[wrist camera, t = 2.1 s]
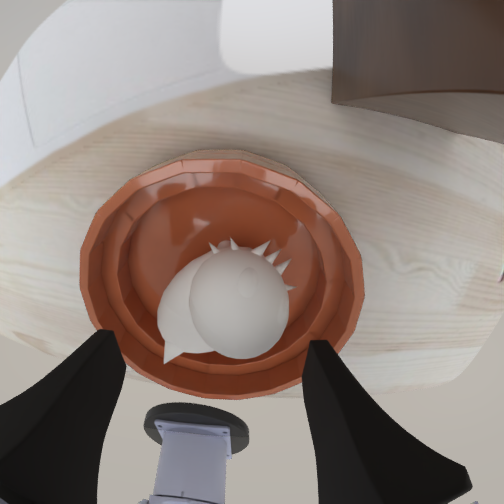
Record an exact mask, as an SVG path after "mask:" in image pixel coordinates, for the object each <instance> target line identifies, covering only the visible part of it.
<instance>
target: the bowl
mask: <svg viewBox="0 0 504 504" xmlns="http://www.w3.org/2000/svg"><path fill="white" fill-rule="evenodd" d="M230 238H231V239H232V240H233V241H234V242H235V243H236V244H237V245H238V246H239V247H249V248H251V249H254V248H256V247H258V246H260V245H262V244H264V243H266V242H268V241H270V240H271V241H270V243H269V244H268V246H267V248H266V249H265V251H264V253H263V255H264V256H265V257H266V256H268V255H270V254H272V253H274V252H276V251H278V250H280V249H281V250H280V252H279V254H278V255H277V257H276V259H275V260H274V262H273V263H272V265H273V266H274V267H275V266H277V265H279V264H281V263H283V262H285V261H287V260H289V259H291V258H292V259H291V260H290V262H289V264H288V265H287V267H286V268H285V270H284V272H283V273H282V275H281V277H282V279H283V282H284V284H286V285H291V286H295V287H296V288H294V289H291V290H288V291H287V292H288V297H289V317H288V322H287V325H286V327H285V329H284V332H283V334H282V336H281V338H280V339H279V341H278V342H277V343H276V344H275V345H274V346H273V347H272V348H271V349H270V350H268V351H267V352H265V353H263V354H261V355H259V356H257V357H253V358H249V359H235V358H231V357H226V356H224V355H222V354H220V353H218V352H216V351H212V352H205V353H187V352H183V353H181V354H180V355H178V356H177V357H175V358H173V359H172V360H170V361H168V362H167V363H165V364H164V349H165V340H164V339H163V338H162V335H161V333H160V331H159V328H158V325H157V310H158V306H159V304H160V301H161V298H162V295H163V292H164V291H165V289H166V288H167V286H168V285H169V284H170V282H171V281H172V279H173V278H174V277H175V275H176V274H177V273H178V272H179V271H181V270H182V269H183V268H184V267H185V266H186V265H187V264H189V263H190V262H191V261H192V260H194V259H196V258H198V257H200V256H202V255H204V254H206V253H208V252H209V251H211V250H212V249H211V247H210V244H209V243H211V244H212V245H213V246H215V247H216V248H217V246H218V245H219V243H220V242H222V241H225V240H229V241H231V240H230ZM80 290H81V294H82V297H83V300H84V303H85V306H86V309H87V312H88V315H89V318H90V321H91V322H92V324H93V325H94V327H95V328H96V330H97V331H98V330H99V329H106V330H113V331H114V333H115V336H116V339H117V342H118V345H119V348H120V350H121V353H122V356H123V358H124V361H125V363H126V364H128V365H129V366H130V367H131V368H132V369H134V370H135V371H136V372H137V373H139V374H141V375H143V376H144V377H146V378H148V379H150V380H152V381H154V382H156V383H158V384H160V385H162V386H164V387H166V388H168V389H171V390H175V391H178V392H182V393H185V394H189V395H193V396H197V397H201V398H209V399H228V400H241V399H248V398H254V397H260V396H266V395H271V394H275V393H277V392H280V391H282V390H285V389H287V388H290V387H292V386H295V385H297V384H299V383H302V373H303V369H304V365H305V360H306V356H307V352H308V348H309V343H310V340H328V341H329V343H330V344H331V346H332V347H333V348H334V350H335V351H336V353H337V354H338V353H339V352H340V350H341V349H342V348H343V346H344V345H345V344H346V342H347V341H348V340H349V338H350V337H351V335H352V334H353V332H354V330H355V327H356V324H357V321H358V318H359V315H360V311H361V308H362V304H363V301H364V296H365V292H364V279H363V268H362V258H361V254H360V252H359V250H358V248H357V246H356V245H355V243H354V241H353V239H352V237H351V235H350V233H349V231H348V229H347V227H346V225H345V224H344V222H343V220H342V218H341V216H340V215H339V214H338V213H337V211H336V210H335V209H334V208H333V207H332V206H331V205H330V204H329V202H328V201H327V200H326V199H325V198H324V197H323V196H322V195H321V194H320V193H319V192H318V191H317V190H316V189H315V188H314V187H312V186H311V185H310V184H309V183H308V182H306V181H305V180H304V179H303V178H302V177H300V176H299V175H298V174H297V173H296V172H294V171H293V170H292V169H291V168H289V167H288V166H286V165H284V164H281V163H279V162H276V161H273V160H271V159H268V158H265V157H262V156H259V155H257V154H254V153H251V152H248V151H245V150H244V151H243V150H195V151H192V152H190V153H187V154H184V155H181V156H178V157H176V158H173V159H170V160H168V161H165V162H162V163H160V164H157V165H155V166H153V167H152V168H150V169H148V170H146V171H144V172H142V173H141V174H139V175H137V176H135V177H134V178H132V179H130V180H129V181H128V182H127V183H126V184H125V185H124V186H122V187H121V188H120V189H119V190H118V191H117V192H116V193H115V194H114V195H113V196H112V197H111V198H110V199H109V200H108V201H107V202H106V203H105V204H104V205H103V206H102V207H101V208H100V209H99V210H98V211H97V212H96V214H95V216H94V219H93V221H92V223H91V225H90V228H89V230H88V232H87V235H86V237H85V239H84V242H83V244H82V247H81V250H80Z"/></svg>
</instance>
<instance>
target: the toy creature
mask: <svg viewBox="0 0 504 504" xmlns="http://www.w3.org/2000/svg"><path fill="white" fill-rule="evenodd" d="M230 240H231V241H229V240H225V241H222V242H220V243H219V245H218V246H217V248H216V247H215V246H213V245H212V244H211V243H209V244H210V247H211V249H212V250H211V251H209V252H208V253H206V254H204V255H202V256H200V257H198V258H196V259H194V260H192V261H191V262H190V263H189V264H187V265H186V266H185V267H184V268H183V269H182V270H181V271H179V272H178V273H177V274H176V275H175V277H174V278H173V279H172V281H171V282H170V284H169V285H168V286H167V288H166V289H165V291H164V292H163V295H162V298H161V301H160V304H159V306H158V310H157V325H158V328H159V331H160V333H161V335H162V338H163V339H164V340H165V349H164V364H165V363H167V362H168V361H170V360H172V359H173V358H175V357H177V356H178V355H180V354H181V353H183V352H187V353H205V352H212V351H216V352H218V353H220V354H222V355H224V356H226V357H231V358H235V359H249V358H253V357H257V356H259V355H261V354H263V353H265V352H267V351H268V350H270V349H271V348H272V347H273V346H274V345H275V344H276V343H277V342H278V341H279V339H280V338H281V336H282V334H283V332H284V329H285V327H286V325H287V322H288V317H289V297H288V292H287V291H288V290H291V289H294V288H296V287H295V286H291V285H286V284H284V282H283V279H282V277H281V275H282V273H283V272H284V270H285V268H286V267H287V265H288V264H289V262H290V260H291V259H292V258H291V259H289V260H287V261H285V262H283V263H281V264H279V265H277V266H275V267H274V266H273V265H272V263H273V262H274V260H275V259H276V257H277V255H278V254H279V252H280V250H281V249H280V250H278V251H276V252H274V253H272V254H270V255H268V256H266V257H265V256H264V255H263V253H264V251H265V249H266V248H267V246H268V244H269V243H270V241H271V240H270V241H268V242H266V243H264V244H262V245H260V246H258V247H256V248H254V249H251V248H249V247H239V246H238V245H237V244H236V243H235V242H234V241H233V240H232V239H231V238H230Z"/></svg>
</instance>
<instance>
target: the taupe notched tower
mask: <svg viewBox="0 0 504 504" xmlns="http://www.w3.org/2000/svg"><path fill="white" fill-rule="evenodd" d="M332 103H333V104H340V105H346V106H352V107H358V108H364V109H369V110H374V111H379V112H383V113H388V114H392V115H396V116H401V117H405V118H409V119H412V120H416V121H420V122H423V123H427V124H430V125H434V126H437V127H440V128H443V129H446V130H449V131H452V132H455V133H458V134H463V135H468V136H473V137H477V138H481V139H485V140H489V141H493V142H497V143H501V144H504V0H333V80H332Z"/></svg>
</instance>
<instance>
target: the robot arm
mask: <svg viewBox="0 0 504 504" xmlns="http://www.w3.org/2000/svg"><path fill="white" fill-rule="evenodd" d="M126 367H127V366H126V364H125V361H124V358H123V356H122V353H121V350H120V348H119V345H118V342H117V339H116V336H115V333H114V331H113V330H106V329H99V330H98V331H97V332H95V333H94V334H93V335H92V336H91V337H90V338H89V339H87V340H86V341H85V342H84V343H83V344H82V345H81V346H80V347H79V348H78V349H76V350H75V351H74V352H73V353H72V354H71V355H70V356H69V357H67V358H66V359H65V360H64V361H63V362H62V363H61V364H60V365H58V366H57V367H56V368H55V369H54V370H52V371H51V372H50V373H49V374H48V375H46V376H45V377H44V378H43V379H41V380H40V381H39V382H37V383H36V384H35V385H33V386H32V387H30V388H29V389H27V390H26V391H24V392H23V393H21V394H20V395H18V396H16V397H14V398H13V399H11V400H9V401H7V402H6V403H4V404H2V405H0V504H97V484H98V473H99V465H100V458H101V453H102V447H103V442H104V438H105V435H106V431H107V429H108V426H109V423H110V420H111V417H112V414H113V411H114V408H115V406H116V403H117V400H118V397H119V395H120V392H121V388H122V385H123V381H124V376H125V372H126ZM302 386H303V396H304V403H305V408H306V412H307V417H308V422H309V426H310V431H311V435H312V440H313V445H314V450H315V456H316V465H317V478H318V494H319V495H318V496H319V504H447V503H449V502H451V501H453V500H455V499H456V498H458V497H460V496H462V495H463V494H465V493H467V492H468V491H470V490H471V489H472V483H471V480H470V478H469V475H468V472H467V470H466V468H465V466H462V465H460V464H458V463H456V462H454V461H452V460H450V459H448V458H446V457H444V456H442V455H441V454H439V453H437V452H435V451H434V450H432V449H431V448H429V447H427V446H426V445H425V444H423V443H422V442H420V441H419V440H418V439H416V438H415V437H414V436H412V435H411V434H410V433H408V432H407V431H406V430H404V429H403V428H402V427H401V426H400V425H399V424H398V423H396V422H395V421H394V420H393V419H392V418H391V417H390V416H389V415H388V414H387V413H386V412H385V411H384V410H382V408H381V407H380V406H379V405H378V404H377V403H376V402H375V401H374V400H373V399H372V398H371V396H370V395H369V394H368V393H367V392H366V391H365V389H364V388H363V387H362V386H361V385H360V383H359V382H358V381H357V380H356V378H355V377H354V376H353V375H352V373H351V372H350V371H349V369H348V368H347V367H346V365H345V364H344V363H343V361H342V360H341V358H340V357H339V356H338V354H337V353H336V351H335V350H334V348H333V347H332V346H331V344H330V343H329V341H328V340H310V343H309V348H308V352H307V356H306V360H305V365H304V369H303V373H302ZM154 423H155V425H156V427H157V429H158V431H159V433H160V435H161V437H162V439H163V442H162V447H161V452H160V458H159V463H158V469H157V474H156V480H155V486H154V493H153V495H150V498H149V500H146V499H143V500H142V501H140V502H138V503H137V504H225V479H226V459H232V452H231V437H230V427H228V426H221V425H205V424H193V423H184V422H175V421H167V420H160V419H156V420H155V422H154ZM471 504H478V502H477V501H475V502H473V503H471Z"/></svg>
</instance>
